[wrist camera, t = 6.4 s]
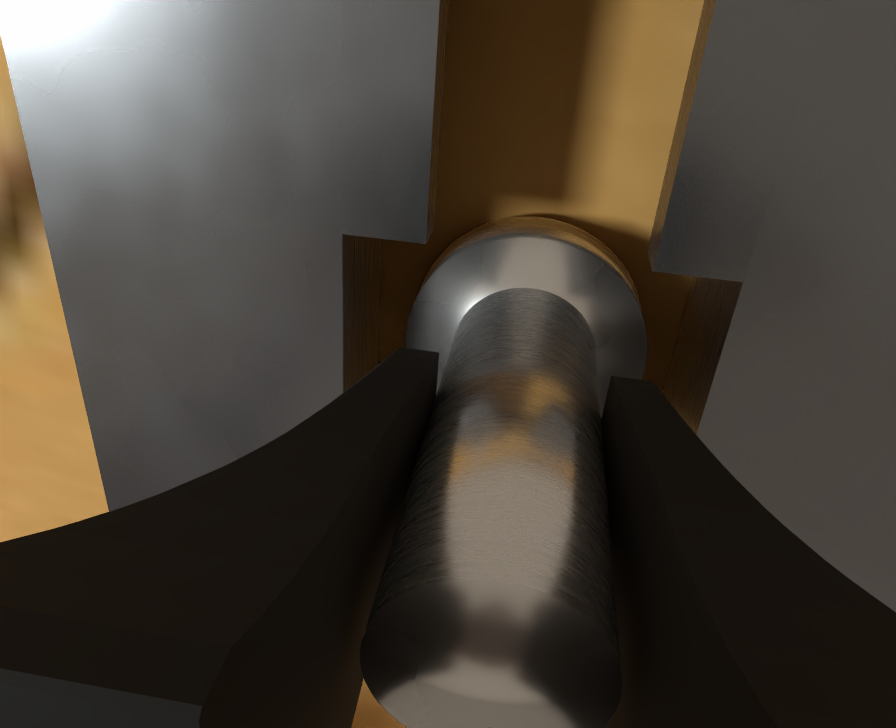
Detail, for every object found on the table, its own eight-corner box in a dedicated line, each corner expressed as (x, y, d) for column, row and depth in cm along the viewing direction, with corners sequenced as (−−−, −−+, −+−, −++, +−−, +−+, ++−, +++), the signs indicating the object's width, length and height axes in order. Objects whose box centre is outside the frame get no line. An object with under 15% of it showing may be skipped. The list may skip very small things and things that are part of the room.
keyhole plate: (848, 564, 16) (899, 672, 14) (178, 461, 17) (116, 541, 15) (1356, -455, 8) (1706, -640, 5) (31, -489, 9) (-155, -646, 7)
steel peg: (622, 428, 15) (673, 835, 8) (416, 406, 15) (290, 770, 8) (660, 225, 12) (777, 540, 6) (417, 207, 13) (250, 477, 6)
